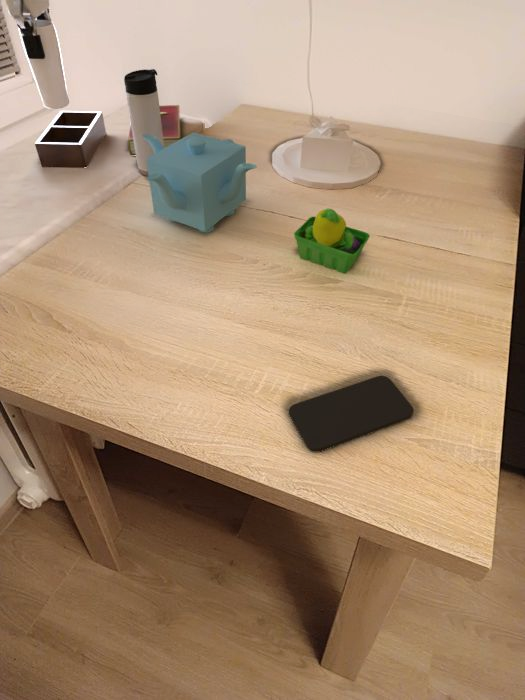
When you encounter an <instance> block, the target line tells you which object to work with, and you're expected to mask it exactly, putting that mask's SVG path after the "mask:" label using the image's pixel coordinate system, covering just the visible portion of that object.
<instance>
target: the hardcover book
mask: <svg viewBox="0 0 525 700" xmlns="http://www.w3.org/2000/svg"><path fill="white" fill-rule="evenodd" d="M159 108H160V116H161V124H162V133H163V141H164V148H166V147H167V146H169V145H171V144H173V143H175V142H176V141H178V140H180V139H182V121H181V116H180V114H181V113H180V104H170V105H159ZM127 146H128V152H129V154H130V156H131V155H136V152H135V146H134V140H133V134H132V128H131V125H130V127H129V133H128V139H127Z"/></svg>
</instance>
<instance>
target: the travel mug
mask: <svg viewBox="0 0 525 700" xmlns="http://www.w3.org/2000/svg"><path fill="white" fill-rule="evenodd" d="M156 76H158V72H157V70H156V69H155V68H152V69H151V68H150V69H138V70H137V69H136V70H134V71H131V72H129V73H127V74H125V75H124V78H123V81H124V86H125V96H126V102H127V109H128V115H129V120H130V126H131V128H132V134H133V140H134V146H135V152H136V156H135V157H136V163H137V164H136V165H137V170H138V172H139V173H140V174H141V175H143V176H145V177H148V176H149V175H148V168H147V162H146V159H147V158H148V157H150V156H151V155H153V154H154V151H153V149H152V147H151V145H150V144H149V142H148V141H147V140H146V139H145V138H144V137H143V136H142V135H144V134H148V135H152V136H154V137H156V138H157V139H158V140H159V141H160V142H161V144H162V145H163V147H164V141H163V133H162V124H161V116H160V108H159V106H160V100H159V92H158V86H157V78H156Z"/></svg>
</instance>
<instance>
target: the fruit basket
mask: <svg viewBox="0 0 525 700" xmlns="http://www.w3.org/2000/svg"><path fill="white" fill-rule="evenodd" d="M293 235H294V239H295V241H296V245H297V249H298V255H299V258H300V259H301V260H305V261H308V262H311V263H314V264H316V265H319V266H323V267H325V268H328V269H330V270H335V271H336V272H339V273H342V274H344V275H346V274H347V273H348V272H349V270H350V269H351V268H352V267H353V266H354V264H355V262H357V261H358V259H359V257H360V255H361V253H362V251H363V249H364V247H365V245H366V244H367V242H368V241H369V238H370V234H369V233H368V232H367V231H362V230H359V229H356V228H352V227H349V226H347V223H346V220H345V218H344V217H343V216H342V215H340V214H338V213H337V212H336V211H335V210H334V209H333V208H326V209H322V210H320V211H318V213H317V214H316V216H310V217H309V218H307V220H306V221H305V222H303V224H301V226H299V227H298V229H296V230H295V231H294V232H293Z"/></svg>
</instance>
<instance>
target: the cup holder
mask: <svg viewBox="0 0 525 700" xmlns="http://www.w3.org/2000/svg"><path fill="white" fill-rule="evenodd" d="M106 136H107V130H106V125H105V119H104V115H103V111H85V110H84V111H81V110H80V111H79V110H60V111H59V112H58V114H57V115H55V117H54V118H53V120H52V121H51V122H50V123H49V125H48V126H47V127H46V129H45V130H44V131H43V132H42V133H41V135H40V136H39V137H38V139H37V140H36V141H35V142H34V147H35V150H36V153H37V157H38V160H39V162H40V166H41V168H59V169H60V168H62V169H63V168H66V169H85V168H84V167H87V166H88V167H89V165H90V163H91V161H92V160H93V159H94V156H95V155H96V153H97V151H98V149H99V147H100V146H101V144H102V142H103V140H104V139H105V137H106ZM88 167H87V168H88Z"/></svg>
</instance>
